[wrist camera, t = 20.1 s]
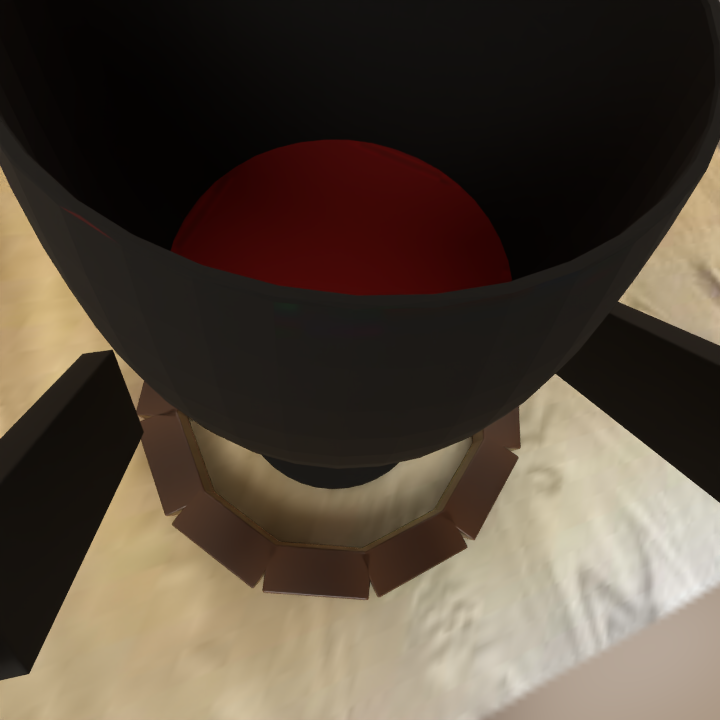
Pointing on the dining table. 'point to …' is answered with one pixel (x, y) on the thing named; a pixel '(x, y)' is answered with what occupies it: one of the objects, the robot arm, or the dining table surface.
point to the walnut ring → (312, 561)
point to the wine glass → (353, 198)
